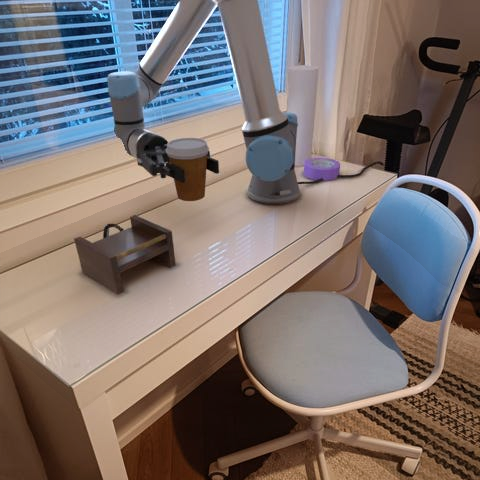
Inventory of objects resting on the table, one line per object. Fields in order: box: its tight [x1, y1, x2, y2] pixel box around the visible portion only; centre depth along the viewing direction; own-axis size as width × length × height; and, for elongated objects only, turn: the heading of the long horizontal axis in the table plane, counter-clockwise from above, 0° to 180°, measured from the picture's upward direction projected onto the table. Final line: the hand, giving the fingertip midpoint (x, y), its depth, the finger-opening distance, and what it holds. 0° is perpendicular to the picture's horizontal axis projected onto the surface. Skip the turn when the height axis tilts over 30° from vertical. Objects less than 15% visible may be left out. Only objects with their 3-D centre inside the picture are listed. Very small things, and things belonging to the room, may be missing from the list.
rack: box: [73, 214, 177, 295], centre depth 99 cm, size 16×13×8 cm
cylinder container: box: [286, 64, 320, 167], centre depth 152 cm, size 9×9×30 cm
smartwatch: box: [102, 223, 124, 239], centre depth 110 cm, size 4×5×5 cm
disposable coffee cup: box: [166, 137, 210, 202], centre depth 102 cm, size 10×10×12 cm
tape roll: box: [303, 157, 341, 182], centre depth 148 cm, size 12×12×4 cm
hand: (200, 171), depth 98 cm, fingers closed on disposable coffee cup, 8 cm apart
